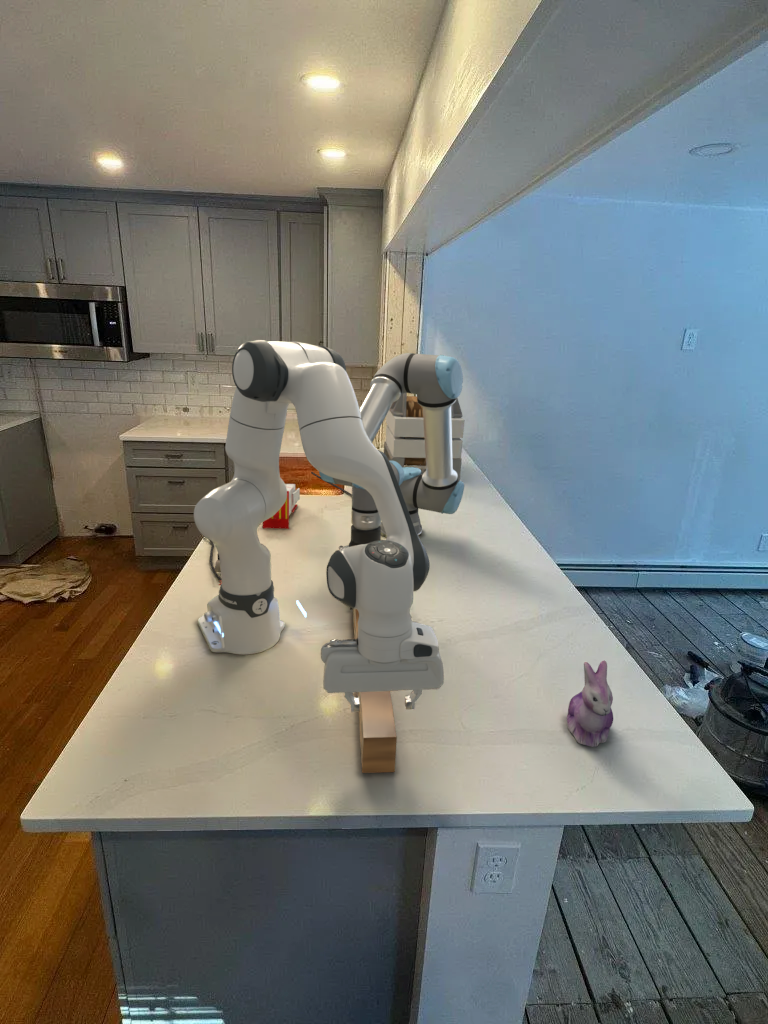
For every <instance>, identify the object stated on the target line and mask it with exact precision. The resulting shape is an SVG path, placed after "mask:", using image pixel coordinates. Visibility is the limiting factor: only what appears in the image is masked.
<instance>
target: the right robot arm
mask: <svg viewBox="0 0 768 1024" xmlns="http://www.w3.org/2000/svg"><path fill="white" fill-rule="evenodd" d="M463 383H464V375H463V369H462V365H461V363H460V361H459V360H458V358H456V357H453V356H450V355H449V356H448V355H444V354H439V355H438V354H428V353H427V354H426V353H425V354H424V353H413V352H404V353H401V354H397V355H396V356H393V357H392V358H391V359H389V360H388V361H386V362H385V363H384V364H383V365H381V367H380V368H379V369H378V370H377V371H376V373H375V374H374V376H372V379H371V381H370V384H369V389H370V390H369V391H368V393H367V395H366V397H365V399H364V400H363V402H362V404H361V406H360V407H359V409H360V413H361V418H362V422H363V426H364V429H365V431H366V434H367V436H368V437H369V439H370V441H371V442H372V443H373V442H374V440H375V438H376V436H377V434H378V432H379V430H380V428H381V427H382V425H383V423H384V422H385V420H386V415H387V413H388V411H389V409H390V407H391V405H392V403H393V402H395V401H397V400H398V399H399V397H400V396H401V394H403V393H407V394H412V395H416V397H417V402H418V404H419V405H420V406H422V407H423V421H424V438H425V455H426V466H425V470H424V472H423V473H422V470H421V468H419V467H416V466H406V467H405V466H404V468H402V466H401V465H400V464H399V463H397V462H396V461H389V462H390V464H391V466H392V469H393V471H394V473H395V476H396V479H397V481H398V484H399V487H400V489H401V492H402V495H403V497H404V500H405V503H406V506H407V509H408V511H409V514H410V517H411V520H412V522H413V525H414V528H415V530H416V533H417V535H418V537H419V538H420V537H421V536H422V535H423V525H422V524H421V518H420V515H419V510H423V511H429V512H435V513H440V514H446V515H453V514H455V513H456V512H457V510H458V509H459V507H460V504H461V502H462V499H463V495H464V490H465V482H464V481H462V480H461V479H460V480H459V481H458V475H457V473H456V471H455V470H453V460H452V421H451V405H452V404H453V403H454V402H455V401H456V398H459V397H460V395H461V393H462V391H463ZM310 474H312V475H313V476H315V477H316V478H318V479H319V480H322V481H323V482H325V483H327V484H328V485H331V486H332V487H334V488H336V489H338V490H340V491H342V492H344V493H345V494H347V495H348V496H350V497H351V513H350V514H351V517H350V522H351V526H350V542H349V543H348V545H345V546H344V545H339V546H338V550H340V549H343V548H346V547H351V546H356V545H361V544H368V543H370V542H373V541H377V540H382V539H381V538H382V537H385V538H387V535H386V532H385V529H384V526H383V524H382V521H381V518H380V515H379V513H378V510H377V507H376V504H375V502H374V499H373V497H372V496H371V494H370V493H369V492H368V491H367V490H366V489H364V488H363V487H361V486H359V485H357V484H354V483H351V482H348V481H344V480H340V479H336V478H333V477H330V476H327V475H325V474H323V473H321V472H320V471H318V474H319V475H318V474H316V473H315V472H314V471H311V472H310ZM338 485H339V486H338ZM340 486H346V487H351V492H349V491H347V490H345V489H344V488H342V487H340ZM349 610H350V611H353V609H352V608H350V607H349Z"/></svg>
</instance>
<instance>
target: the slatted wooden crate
mask: <svg viewBox="0 0 768 1024" xmlns="http://www.w3.org/2000/svg"><path fill="white" fill-rule="evenodd" d="M407 394H408V393H403V394H401V396H400V397H399V399H398V400H397V401H395V402H393V403H392V405H391V407H390V409H389V411H388V413H387V415H386V417H385V423H386V428H385V438H384V442H383V453H384V454H385V455H386V456H387V458H388V460H389V461H396V462H397V463H399V464H400V465H401V466H402V468H404V467H405V466H406V467H417V466H418V467H426V455H425V438H424V421H423V407H422V406H420V405H419V404H418V402H417V396H415V395H414V396H413V395H412V396H411V395H407ZM451 421H452V460H453V470H455V471H456V473H457V475H458V481H459V480H461V472H462V461H463V460H462V453H463V442H464V441H463V440H462V439H463V438H464V431H465V430H464V429H465V419H464V418H463V411H462V408H461V405H460V402H459V397H457V398H456V401H455V402H454V403H453V404H452V405H451Z"/></svg>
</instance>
